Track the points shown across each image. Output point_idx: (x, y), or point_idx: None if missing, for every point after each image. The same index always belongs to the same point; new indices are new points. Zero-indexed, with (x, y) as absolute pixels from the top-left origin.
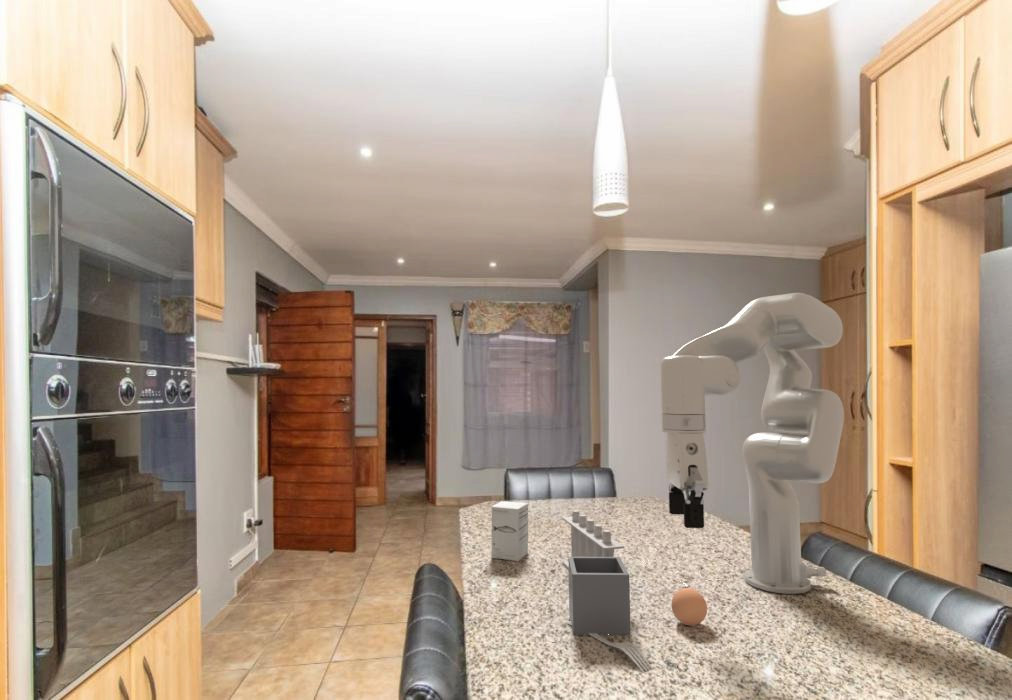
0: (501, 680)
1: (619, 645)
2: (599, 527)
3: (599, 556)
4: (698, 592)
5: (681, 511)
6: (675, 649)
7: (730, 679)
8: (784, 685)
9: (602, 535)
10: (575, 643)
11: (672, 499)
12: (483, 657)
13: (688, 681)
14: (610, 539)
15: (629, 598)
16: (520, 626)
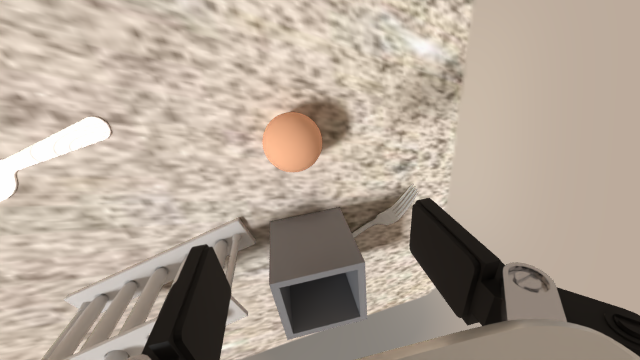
0: (423, 284)
1: (391, 220)
2: None
3: None
4: (293, 133)
5: (216, 269)
6: (369, 159)
7: (437, 104)
8: (456, 35)
9: None
10: (362, 252)
11: (219, 346)
12: (390, 303)
13: (436, 151)
14: None
15: (352, 236)
16: None
